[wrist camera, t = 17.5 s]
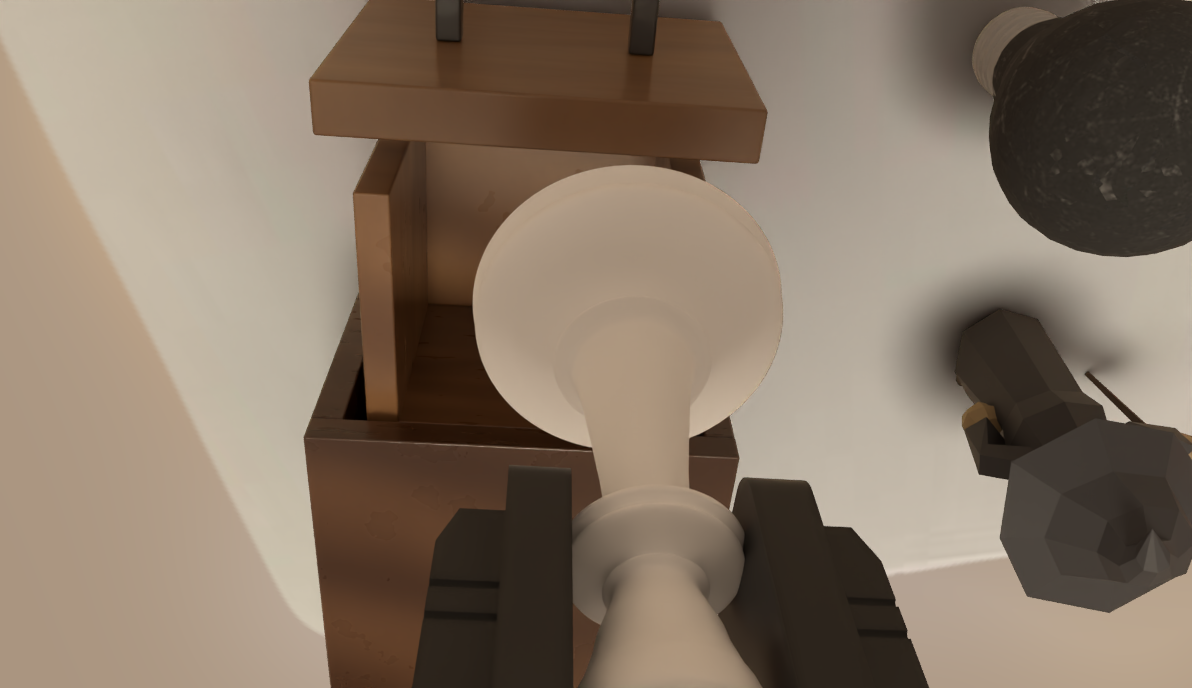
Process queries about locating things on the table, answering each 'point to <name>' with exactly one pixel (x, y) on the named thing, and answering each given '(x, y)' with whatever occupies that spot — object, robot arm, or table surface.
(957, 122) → the table surface
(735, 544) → the chess piece
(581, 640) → the cabinet
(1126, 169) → the light bulb
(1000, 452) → the wizard figurine
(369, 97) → the drawer
